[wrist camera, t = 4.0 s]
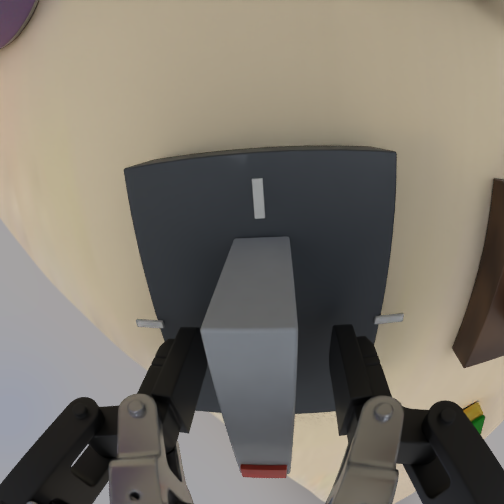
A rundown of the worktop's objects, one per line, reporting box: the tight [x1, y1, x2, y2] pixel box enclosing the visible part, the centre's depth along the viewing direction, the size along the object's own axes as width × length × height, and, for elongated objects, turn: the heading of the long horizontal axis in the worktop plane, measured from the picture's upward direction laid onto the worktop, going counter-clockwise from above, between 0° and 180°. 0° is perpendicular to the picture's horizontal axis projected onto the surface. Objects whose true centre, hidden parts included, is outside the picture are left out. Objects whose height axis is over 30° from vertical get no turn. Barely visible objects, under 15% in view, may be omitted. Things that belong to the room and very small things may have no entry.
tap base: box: [124, 146, 404, 414], centre depth 13 cm, size 14×12×3 cm
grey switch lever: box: [200, 236, 298, 478], centre depth 9 cm, size 8×2×5 cm, turn 4°
